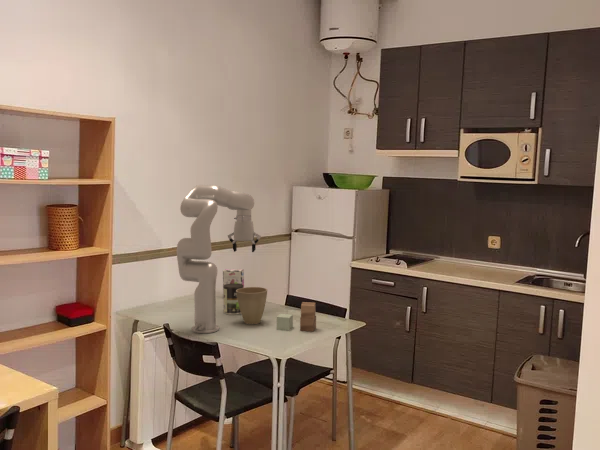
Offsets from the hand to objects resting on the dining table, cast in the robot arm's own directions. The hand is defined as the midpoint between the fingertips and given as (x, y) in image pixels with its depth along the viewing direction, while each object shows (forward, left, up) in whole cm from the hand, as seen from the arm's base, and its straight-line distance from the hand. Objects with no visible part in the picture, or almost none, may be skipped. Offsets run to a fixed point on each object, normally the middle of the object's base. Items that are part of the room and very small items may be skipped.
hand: (244, 251), depth 308 cm
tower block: (-28, -42, -25) cm, 56 cm away
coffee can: (-8, +3, -31) cm, 32 cm away
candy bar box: (+22, +15, -31) cm, 40 cm away
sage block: (-29, -31, -31) cm, 52 cm away
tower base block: (-28, -42, -31) cm, 59 cm away
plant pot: (-24, -13, -31) cm, 41 cm away
